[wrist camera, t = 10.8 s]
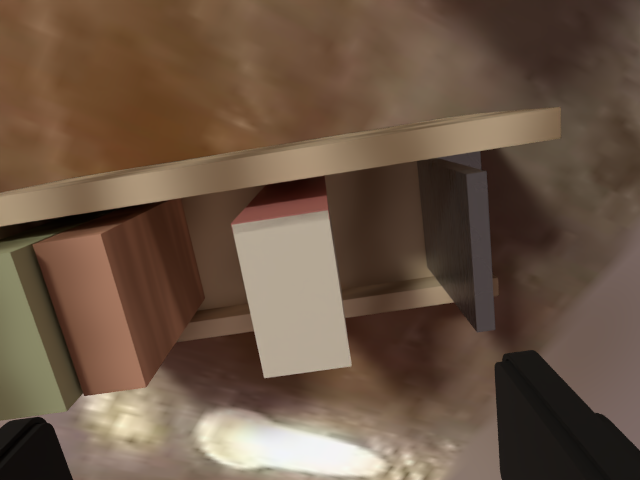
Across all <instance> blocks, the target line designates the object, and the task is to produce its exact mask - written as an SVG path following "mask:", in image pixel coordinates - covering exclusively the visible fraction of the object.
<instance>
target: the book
mask: <svg viewBox="0 0 640 480" xmlns="http://www.w3.org/2000/svg"><path fill="white" fill-rule="evenodd" d="M231 227H232V232H233V234H234V239H235V243H236V248H237V253H238V258H239V262H240V267H241V272H242V276H243V281H244V286H245V290H246V295H247V300H248V304H249V309H250V314H251V318H252V323H253V328H254V332H255V337H256V342H257V347H258V351H259V356H260V361H261V365H262V370H263V375H264V378H270V377H277V376H284V375H291V374H299V373H306V372H313V371H320V370H328V369H335V368H342V367H349V366H352V365H351V358H350V351H349V343H348V336H347V328H346V321H345V313H344V306H343V299H342V291H341V284H340V276H339V270H338V263H337V256H336V250H335V243H334V237H333V230H332V223H331V217H330V210H329V204H328V197H327V190H326V182H325V175H324V176H317V177H311V178H305V179H298V180H292V181H286V182H279V183H273V184H266V185H265V186H264V188H263V189H262V190H261V191H260V192H259V193H258V194H257V195H256V196H255V197H254V199H253V200H252V201H251V202H250V203H249V204H248V205H247V206H246V207H245V209H244V210H243V211H242V212H241V213H240V214H239V215H238V216H237V217H236V218H235V220H234V221H233V222H232V223H231Z"/></svg>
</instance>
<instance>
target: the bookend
mask: <svg viewBox="0 0 640 480" xmlns="http://www.w3.org/2000/svg"><path fill="white" fill-rule="evenodd" d="M417 167H418V177H419V187H420V198H421V208H422V218H423V229H424V239H425V250H426V260H427V267H428V269H429V270H430V271H431V273H432V274H433V275H434V277H435V278H436V279H437V281H438V282H439V283H440V284H441V286H442V287H443V288H444V290H445V291H446V292H447V294H448V295H449V296H450V298H451V299H452V300H453V301H454V303H455V304H456V305H457V307H458V308H459V309H460V311H461V312H462V313H463V315H464V316H465V317H466V318H467V320H468V321H469V322H470V324H471V325H472V326H473V328H474V329H475V330H476V331H477V332H483V331H490V330H495V314H494V296H493V278H492V260H491V241H490V223H489V205H488V187H487V171H484V170H481V154H480V151H476V152H470V153H463V154H457V155H451V156H444V157H438V158H432V159H425V160H419V161H417Z"/></svg>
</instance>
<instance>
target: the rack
mask: <svg viewBox="0 0 640 480" xmlns="http://www.w3.org/2000/svg"><path fill="white" fill-rule="evenodd" d="M559 138H561V107H553V108H541V109H528V110H515V111H503V112H490V113H478V114H468V115H462V116H456V117H449V118H443V119H437V120H431V121H425V122H418V123H412V124H406V125H400V126H393V127H387V128H381V129H375V130H369V131H362V132H356V133H350V134H344V135H337V136H331V137H325V138H319V139H313V140H306V141H300V142H294V143H288V144H281V145H275V146H269V147H263V148H257V149H250V150H244V151H238V152H232V153H226V154H219V155H213V156H207V157H201V158H194V159H188V160H182V161H176V162H170V163H163V164H157V165H151V166H145V167H138V168H132V169H126V170H120V171H114V172H107V173H101V174H95V175H89V176H82V177H76V178H70V179H64V180H60V181H55V182H50V183H45V184H41V185H36V186H31V187H26V188H21V189H17V190H12V191H7V192H2V193H0V421H1V420H8V419H15V418H22V417H29V416H37V415H44V414H51V413H58V412H65V411H68V410H69V408H70V407H71V406H72V405H73V404H74V403H75V402H76V401H77V399H78V398H79V397H80V396H81V395H82V394H84V396H88V395H95V394H102V393H109V392H116V391H123V390H131V389H138V388H145V387H147V385H148V384H149V382H150V381H151V379H152V378H153V376H154V375H155V373H156V372H157V370H158V369H159V367H160V366H161V364H162V363H163V361H164V360H165V358H166V357H167V355H168V354H169V352H170V351H171V349H172V348H173V346H174V345H175V343H176V342H182V341H189V340H196V339H203V338H210V337H217V336H224V335H231V334H238V333H245V332H252V331H254V328H253V323H252V318H251V314H250V309H249V304H248V300H247V295H246V290H245V286H244V281H243V276H242V272H241V267H240V262H239V258H238V253H237V248H236V243H235V239H234V234H233V232H232V227H231V223H232V222H233V221H234V220H235V218H236V217H237V216H238V215H239V214H240V213H241V212H242V211H243V210H244V209H245V207H246V206H247V205H248V204H249V203H250V202H251V201H252V200H253V199H254V197H255V196H256V195H257V194H258V193H259V192H260V191H261V190H262V189H263V188H264V186H265V185H266V184H273V183H279V182H286V181H292V180H298V179H305V178H311V177H317V176H324V175H325V182H326V190H327V197H328V204H329V210H330V217H331V223H332V230H333V237H334V243H335V250H336V256H337V263H338V270H339V276H340V284H341V291H342V299H343V306H344V313H345V318H349V317H356V316H363V315H370V314H377V313H384V312H391V311H398V310H404V309H411V308H418V307H425V306H432V305H439V304H446V303H453V302H454V301H453V300H452V299H451V298H450V296H449V295H448V294H447V292H446V291H445V290H444V288H443V287H442V286H441V284H440V283H439V282H438V281H437V279H436V278H435V277H434V275H433V274H432V273H431V271H430V270H429V269H428V267H427V260H426V250H425V239H424V229H423V218H422V208H421V198H420V187H419V177H418V167H417V161H419V160H425V159H432V158H438V157H444V156H451V155H457V154H463V153H470V152H476V151H483V150H489V149H495V148H502V147H508V146H514V145H521V144H527V143H533V142H540V141H546V140H552V139H559ZM492 278H493V296H494V297H495V296H499V287H498V277H496V276H495V275H494V274H493V273H492Z"/></svg>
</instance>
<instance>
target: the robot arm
mask: <svg viewBox="0 0 640 480" xmlns="http://www.w3.org/2000/svg"><path fill="white" fill-rule="evenodd" d="M495 385H496V404H497V422H498V441H499V458H500V473H501V478H502V480H640V451H639V449H638V448H637V447H636V446H635V445H634V444H633V443H632V442H631V441H630V440H629V439H628V438H627V437H626V436H625V435H624V434H623V433H622V432H621V431H620V430H619V429H618V428H617V427H616V426H615V425H614V424H613V423H612V422H611V421H610V420H609V419H608V418H606V417H605V416H604V415H602V414H599V413H594V412H593V411H592V410H591V409H590V408H589V407H588V405H587V404H586V403H584V401H583V400H582V399H581V398H580V397H579V396H578V395H577V394H576V393H575V392H574V391H573V390H572V389H571V388H570V387H569V386H568V385H567V383H566V382H565V381H564V380H563V379H562V378H561V377H560V376H559V375H558V374H557V373H556V372H555V371H554V370H553V369H552V368H551V367H550V366H549V365H548V364H547V362H546V361H545V360H544V359H543V358H542V357H541V356H540V355H539V354H538V353H537V352H536V351H534V350H529V351H522V352H514V353H507V354H504V355H503V359H502V362H497V363H496V364H495ZM0 480H73V479H72V476H71V473H70V471H69V468H68V465H67V462H66V460H65V457H64V454H63V452H62V449H61V446H60V444H59V441H58V438H57V435H56V433H55V430H54V428H53V426H52V425H51V424H50V423H47V422H46V421H45V420H44V419H43V418H41V417H34V418H26V419H19V420H13V421H9V422H8V423H6V424H5V425H3V426H2V427H1V428H0Z"/></svg>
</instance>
